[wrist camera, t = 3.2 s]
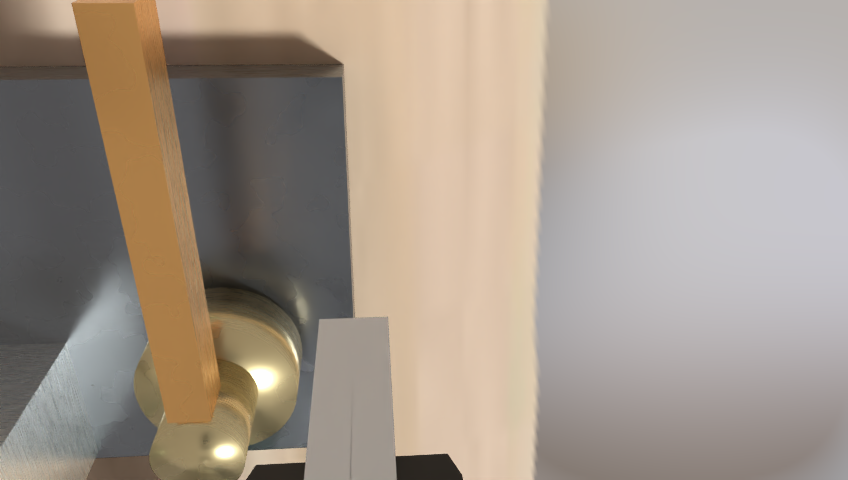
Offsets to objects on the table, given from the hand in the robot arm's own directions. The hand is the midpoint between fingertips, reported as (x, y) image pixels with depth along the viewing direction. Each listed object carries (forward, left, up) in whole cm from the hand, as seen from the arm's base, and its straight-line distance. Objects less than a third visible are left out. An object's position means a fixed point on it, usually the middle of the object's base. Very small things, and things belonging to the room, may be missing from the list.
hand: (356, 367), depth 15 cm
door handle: (-4, +7, -14) cm, 16 cm away
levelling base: (-7, +11, -17) cm, 21 cm away
